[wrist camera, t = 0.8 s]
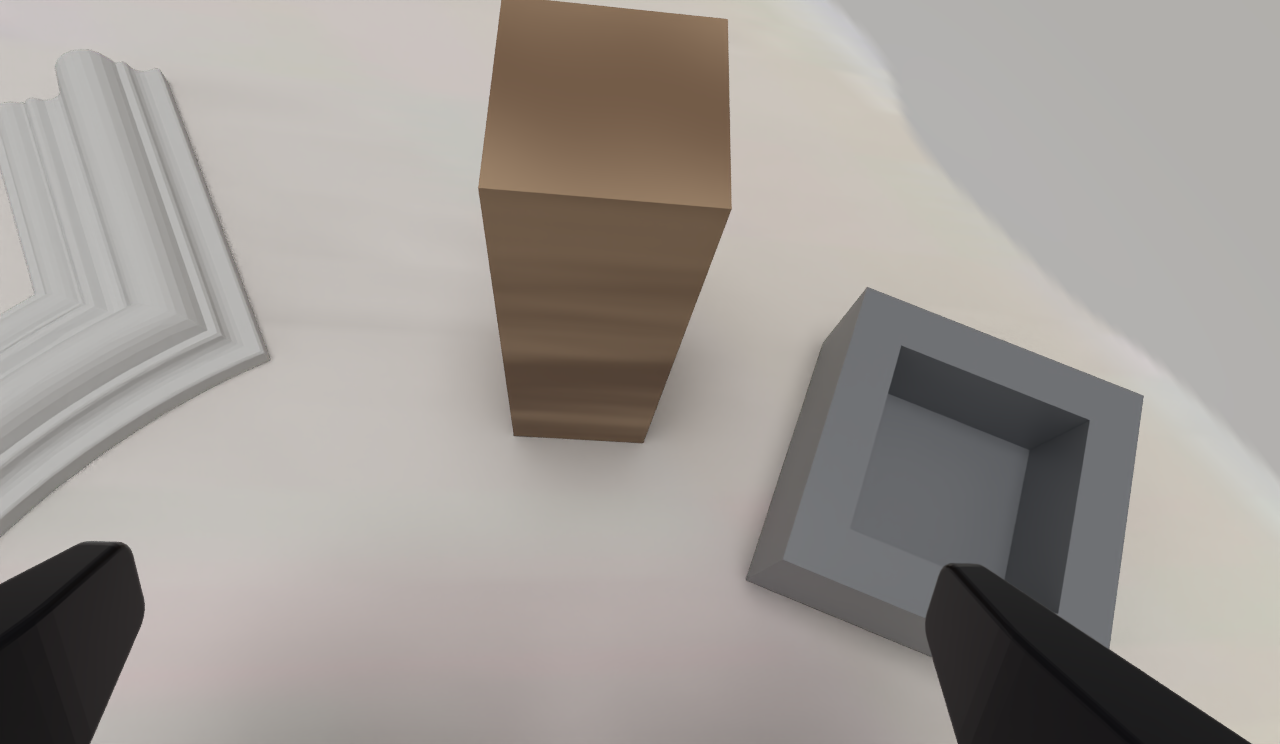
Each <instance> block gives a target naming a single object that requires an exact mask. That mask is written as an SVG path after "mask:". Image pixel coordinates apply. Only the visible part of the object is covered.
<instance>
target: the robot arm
mask: <svg viewBox="0 0 1280 744" xmlns="http://www.w3.org/2000/svg"><path fill="white" fill-rule="evenodd" d="M144 611H145V603H144V597H143V593H142V589H141V585H140V581H139V577H138V573H137V569H136V565H135V561H134V556H133V553H132V551H131V549H130V548H129V546H128V545H126V544H124V543H122V542H103V541H87V542H82V543H79V544H77V545H75V546H73V547H71V548H69V549H67V550H65V551H63V552H61V553H59V554H58V555H56V556H54V557H52V558H50V559H48V560H46V561H44V562H42V563H40V564H38V565H36V566H34V567H32V568H30V569H28V570H26V571H25V572H23V573H21V574H19V575H17V576H15V577H13V578H11V579H9V580H7V581H5V582H3V583H1V584H0V744H90V743H91V740H92V738H93V736H94V734H95V731H96V729H97V727H98V724H99V722H100V720H101V718H102V715H103V713H104V711H105V708H106V706H107V704H108V701H109V699H110V697H111V694H112V692H113V690H114V687H115V685H116V683H117V680H118V678H119V676H120V673H121V671H122V669H123V667H124V664H125V662H126V660H127V657H128V655H129V653H130V650H131V648H132V646H133V643H134V641H135V639H136V636H137V634H138V632H139V629H140V627H141V624H142V621H143V617H144ZM925 633H926V638H927V642H928V645H929V648H930V652H931V655H932V658H933V662H934V665H935V669H936V672H937V675H938V679H939V682H940V685H941V689H942V692H943V696H944V699H945V702H946V706H947V709H948V712H949V716H950V719H951V722H952V726H953V729H954V733H955V736H956V739H957V742H958V744H1251V743H1250V742H1248V741H1247V740H1245V739H1244V738H1242V737H1241V736H1239V735H1238V734H1236V733H1235V732H1233V731H1232V730H1230V729H1229V728H1227V727H1226V726H1224V725H1223V724H1221V723H1220V722H1218V721H1217V720H1215V719H1214V718H1212V717H1211V716H1209V715H1208V714H1206V713H1205V712H1203V711H1202V710H1200V709H1199V708H1197V707H1196V706H1194V705H1193V704H1191V703H1190V702H1188V701H1187V700H1185V699H1184V698H1182V697H1181V696H1179V695H1177V694H1176V693H1174V692H1173V691H1171V690H1170V689H1168V688H1167V687H1165V686H1164V685H1162V684H1161V683H1159V682H1158V681H1156V680H1155V679H1153V678H1152V677H1150V676H1149V675H1147V674H1146V673H1144V672H1143V671H1141V670H1140V669H1138V668H1137V667H1135V666H1134V665H1132V664H1131V663H1129V662H1128V661H1126V660H1125V659H1123V658H1122V657H1120V656H1119V655H1117V654H1116V653H1114V652H1113V651H1111V650H1110V649H1108V648H1107V647H1105V646H1104V645H1102V644H1101V643H1099V642H1098V641H1096V640H1095V639H1093V638H1092V637H1090V636H1089V635H1087V634H1085V633H1084V632H1082V631H1081V630H1079V629H1078V628H1076V627H1075V626H1073V625H1072V624H1070V623H1069V622H1067V621H1066V620H1064V619H1063V618H1061V617H1060V616H1058V615H1057V614H1055V613H1054V612H1052V611H1051V610H1049V609H1048V608H1046V607H1045V606H1043V605H1042V604H1040V603H1039V602H1037V601H1036V600H1034V599H1033V598H1031V597H1030V596H1028V595H1027V594H1025V593H1024V592H1022V591H1021V590H1019V589H1018V588H1016V587H1015V586H1013V585H1012V584H1010V583H1009V582H1007V581H1006V580H1004V579H1003V578H1001V577H1000V576H998V575H997V574H995V573H993V572H992V571H990V570H989V569H987V568H986V567H984V566H982V565H980V564H972V563H949V564H946V565H945V566H943V568H942V569H941V571H940V573H939V575H938V578H937V582H936V585H935V588H934V591H933V594H932V597H931V600H930V604H929V607H928V610H927V613H926V617H925Z"/></svg>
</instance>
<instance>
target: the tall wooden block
mask: <svg viewBox="0 0 1280 744" xmlns="http://www.w3.org/2000/svg"><path fill="white" fill-rule="evenodd" d="M478 189H479V196H480V203H481V210H482V217H483V224H484V231H485V238H486V245H487V252H488V259H489V266H490V273H491V280H492V287H493V294H494V301H495V308H496V314H497V321H498V328H499V335H500V342H501V349H502V356H503V363H504V370H505V377H506V384H507V391H508V398H509V405H510V412H511V419H512V426H513V433H514V436H527V437H545V438H562V439H580V440H598V441H616V442H633V443H643V442H644V439H645V437H646V434H647V432H648V429H649V426H650V424H651V421H652V418H653V416H654V413H655V410H656V408H657V405H658V402H659V400H660V397H661V394H662V392H663V389H664V387H665V384H666V381H667V379H668V376H669V373H670V371H671V368H672V365H673V363H674V360H675V357H676V355H677V352H678V349H679V347H680V344H681V341H682V339H683V336H684V334H685V331H686V328H687V326H688V323H689V320H690V318H691V315H692V312H693V310H694V307H695V304H696V302H697V299H698V296H699V294H700V291H701V289H702V286H703V283H704V281H705V278H706V275H707V273H708V270H709V267H710V265H711V262H712V259H713V257H714V254H715V251H716V249H717V246H718V243H719V241H720V238H721V236H722V233H723V230H724V228H725V225H726V222H727V220H728V217H729V214H730V212H731V209H732V207H731V157H730V108H729V58H728V19H721V18H712V17H702V16H692V15H683V14H673V13H664V12H654V11H645V10H635V9H626V8H616V7H606V6H597V5H587V4H578V3H568V2H559V1H549V0H501V8H500V16H499V24H498V32H497V40H496V48H495V57H494V65H493V73H492V81H491V89H490V97H489V105H488V113H487V121H486V129H485V138H484V146H483V154H482V162H481V170H480V178H479V186H478Z"/></svg>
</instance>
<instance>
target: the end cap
mask: <svg viewBox="0 0 1280 744" xmlns="http://www.w3.org/2000/svg"><path fill="white" fill-rule="evenodd" d="M1143 397H1144V396H1143V395H1140V394H1138V393H1135V392H1133V391H1130V390H1128V389H1125V388H1123V387H1120V386H1118V385H1115V384H1113V383H1110V382H1107V381H1105V380H1102V379H1100V378H1097V377H1095V376H1092V375H1090V374H1087V373H1085V372H1082V371H1079V370H1077V369H1074V368H1072V367H1069V366H1067V365H1064V364H1062V363H1059V362H1057V361H1054V360H1052V359H1049V358H1046V357H1044V356H1041V355H1039V354H1036V353H1034V352H1031V351H1029V350H1026V349H1024V348H1021V347H1019V346H1016V345H1013V344H1011V343H1008V342H1006V341H1003V340H1001V339H998V338H996V337H993V336H991V335H988V334H985V333H983V332H980V331H978V330H975V329H973V328H970V327H968V326H965V325H963V324H960V323H958V322H955V321H952V320H950V319H947V318H945V317H942V316H940V315H937V314H935V313H932V312H930V311H927V310H924V309H922V308H919V307H917V306H914V305H912V304H909V303H907V302H904V301H902V300H899V299H897V298H894V297H891V296H889V295H886V294H884V293H881V292H879V291H876V290H874V289H871V288H869V287H867V288H866V289H865V291H864V292H863V293H862V294H861V296H860V297H859V298H858V299H857V301H856V302H855V303H854V304H853V306H852V307H851V308H850V309H849V311H848V312H847V313H846V315H845V316H844V317H843V318H842V320H841V321H840V322H839V323H838V325H837V326H836V327H835V328H834V330H833V331H832V332H831V333H830V335H829V336H828V337H827V339H826V340H825V341H824V342H823V345H822V348H821V351H820V354H819V357H818V360H817V363H816V366H815V369H814V372H813V375H812V378H811V382H810V385H809V388H808V391H807V394H806V397H805V400H804V403H803V406H802V409H801V412H800V415H799V418H798V421H797V424H796V427H795V431H794V434H793V437H792V440H791V443H790V446H789V449H788V452H787V455H786V458H785V461H784V464H783V467H782V470H781V473H780V476H779V480H778V483H777V486H776V489H775V492H774V495H773V498H772V501H771V504H770V507H769V510H768V513H767V516H766V519H765V522H764V526H763V529H762V532H761V535H760V538H759V541H758V544H757V547H756V550H755V553H754V556H753V559H752V562H751V565H750V568H749V571H748V575H747V578H746V580H747V581H750V582H752V583H754V584H757V585H759V586H762V587H764V588H767V589H769V590H771V591H774V592H776V593H779V594H781V595H783V596H786V597H788V598H791V599H793V600H796V601H798V602H800V603H803V604H805V605H808V606H810V607H812V608H815V609H817V610H820V611H822V612H825V613H827V614H829V615H832V616H834V617H837V618H839V619H841V620H844V621H846V622H849V623H851V624H854V625H856V626H858V627H861V628H863V629H866V630H868V631H870V632H873V633H875V634H878V635H880V636H882V637H885V638H887V639H890V640H892V641H895V642H897V643H899V644H902V645H904V646H907V647H909V648H911V649H914V650H916V651H919V652H921V653H924V654H926V655H928V656H931V657H932V655H931V652H930V648H929V645H928V642H927V638H926V633H925V617H926V613H927V610H928V607H929V604H930V600H931V597H932V594H933V591H934V588H935V585H936V582H937V578H938V575H939V573H940V571H941V569H942V568H943V566H945V565H946V564H949V563H972V564H980V565H982V566H984V567H986V568H987V569H989V570H990V571H992V572H993V573H995V574H997V575H998V576H1000V577H1001V578H1003V579H1004V580H1006V581H1007V582H1009V583H1010V584H1012V585H1013V586H1015V587H1016V588H1018V589H1019V590H1021V591H1022V592H1024V593H1025V594H1027V595H1028V596H1030V597H1031V598H1033V599H1034V600H1036V601H1037V602H1039V603H1040V604H1042V605H1043V606H1045V607H1046V608H1048V609H1049V610H1051V611H1052V612H1054V613H1055V614H1057V615H1058V616H1060V617H1061V618H1063V619H1064V620H1066V621H1067V622H1069V623H1070V624H1072V625H1073V626H1075V627H1076V628H1078V629H1079V630H1081V631H1082V632H1084V633H1085V634H1087V635H1089V636H1090V637H1092V638H1093V639H1095V640H1096V641H1098V642H1099V643H1101V644H1102V645H1104V646H1105V647H1107V648H1108V649H1109V647H1110V640H1111V632H1112V625H1113V618H1114V610H1115V603H1116V596H1117V588H1118V581H1119V573H1120V566H1121V559H1122V551H1123V544H1124V537H1125V529H1126V522H1127V515H1128V507H1129V500H1130V493H1131V485H1132V478H1133V471H1134V463H1135V456H1136V448H1137V441H1138V434H1139V426H1140V419H1141V412H1142V404H1143Z"/></svg>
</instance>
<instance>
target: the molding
mask: <svg viewBox="0 0 1280 744" xmlns="http://www.w3.org/2000/svg"><path fill="white" fill-rule="evenodd" d="M55 71H56V77H57V81H58V86H59V90H60V93H59V95H58V96H57V97H55V98H54V99H49V100H42V99H37V98H29V99H26V102H25V103H23V102H21V103H19V102H4V103H2V104H0V171H1V174H2V178H3V181H4V185H5V189H6V192H7V196H8V200H9V203H10V207H11V211H12V214H13V218H14V221H15V225H16V229H17V232H18V236H19V240H20V243H21V247H22V250H23V254H24V258H25V261H26V265H27V269H28V272H29V276H30V279H31V283H32V287H33V290H34V294H35V295H33V296H32V297H30V298H28V299H26V300H24V301H23V302H21V303H19V304H17V305H16V306H14V307H12V308H10V309H9V310H7V311H5V312H4V313H2V314H0V537H1V536H2V535H3V534H4V533H5V532H6V531H7V530H9V529H10V528H11V527H12V526H13V525H14V524H15V523H17V522H18V521H19V520H20V519H21V518H22V517H23V516H24V515H26V514H27V513H28V512H29V511H30V510H31V509H32V508H34V507H35V506H36V505H37V504H38V503H39V502H40V501H42V500H43V499H44V498H45V497H47V496H48V495H49V494H50V493H51V492H53V491H54V490H55V489H56V488H58V487H59V486H60V485H62V484H63V483H64V482H66V481H67V480H68V479H70V478H71V477H72V476H74V475H75V474H76V473H78V472H79V471H80V470H81V469H83V468H84V467H85V466H87V465H88V464H89V463H91V462H92V461H93V460H95V459H96V458H98V457H99V456H100V455H102V454H103V453H104V452H106V451H107V450H109V449H110V448H112V447H113V446H115V445H116V444H118V443H119V442H121V441H122V440H124V439H125V438H127V437H128V436H130V435H131V434H133V433H135V432H136V431H138V430H139V429H141V428H142V427H144V426H145V425H147V424H148V423H150V422H152V421H153V420H155V419H156V418H158V417H160V416H161V415H163V414H165V413H167V412H168V411H170V410H172V409H174V408H175V407H177V406H179V405H181V404H183V403H184V402H186V401H188V400H190V399H192V398H193V397H195V396H197V395H199V394H201V393H203V392H204V391H206V390H208V389H210V388H212V387H214V386H216V385H218V384H220V383H222V382H224V381H226V380H228V379H230V378H232V377H235V376H237V375H239V374H241V373H243V372H245V371H248V370H250V369H252V368H254V367H256V366H259V365H261V364H263V363H265V362H268V361H270V360H271V359H270V357H269V354H268V351H267V349H266V346H265V343H264V341H263V338H262V335H261V332H260V330H259V327H258V324H257V322H256V319H255V316H254V313H253V311H252V308H251V305H250V303H249V300H248V297H247V294H246V292H245V289H244V286H243V284H242V281H241V278H240V276H239V273H238V270H237V267H236V265H235V262H234V259H233V257H232V254H231V251H230V248H229V246H228V243H227V240H226V238H225V235H224V232H223V229H222V227H221V224H220V221H219V219H218V216H217V213H216V211H215V208H214V205H213V202H212V200H211V197H210V194H209V192H208V189H207V186H206V184H205V181H204V178H203V175H202V173H201V170H200V167H199V165H198V162H197V159H196V157H195V154H194V151H193V148H192V146H191V143H190V140H189V138H188V135H187V132H186V130H185V127H184V124H183V121H182V119H181V116H180V113H179V111H178V108H177V105H176V103H175V100H174V97H173V94H172V92H171V89H170V86H169V84H168V81H167V80H166V78H165V77H164V75H163V74H162V72H161V70H160V69H158V68H155V69H151V70H147V71H138V70H135V69H133V68H131V67H130V66H129V65H128V64H127V63H125V62H117V63H114V62H113V61H112V60H110V59H109V58H107V57H106V56H104V55H102V54H100V53H98V52H95V51H91V50H84V49H78V50H73V51H69V52H67V53H65V54H63V55H61V56H60V57H59V58H58V59H57V62H56V64H55Z"/></svg>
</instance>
